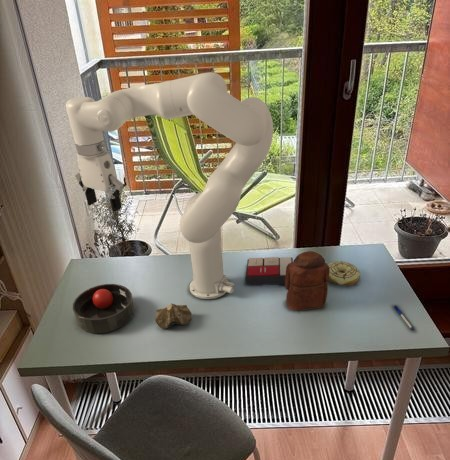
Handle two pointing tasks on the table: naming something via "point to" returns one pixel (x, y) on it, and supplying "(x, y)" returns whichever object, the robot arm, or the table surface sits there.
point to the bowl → (106, 318)
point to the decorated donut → (343, 273)
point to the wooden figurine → (307, 281)
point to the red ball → (102, 298)
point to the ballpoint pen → (403, 317)
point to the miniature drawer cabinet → (267, 270)
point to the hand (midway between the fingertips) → (104, 206)
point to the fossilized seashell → (173, 315)
